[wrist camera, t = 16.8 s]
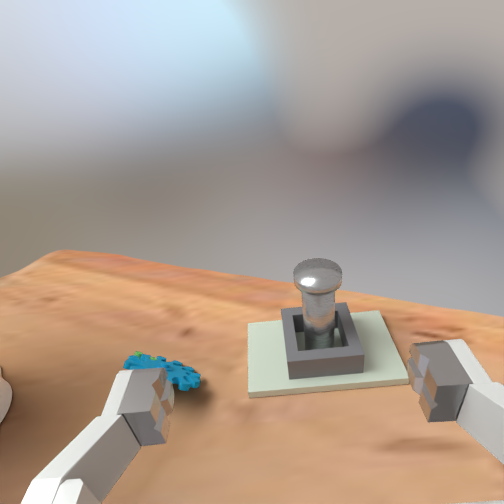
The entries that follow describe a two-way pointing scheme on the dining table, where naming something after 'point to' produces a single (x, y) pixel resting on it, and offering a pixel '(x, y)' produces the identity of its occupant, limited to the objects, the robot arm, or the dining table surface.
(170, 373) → the gear
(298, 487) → the dining table surface
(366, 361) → the socket board
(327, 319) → the pin
